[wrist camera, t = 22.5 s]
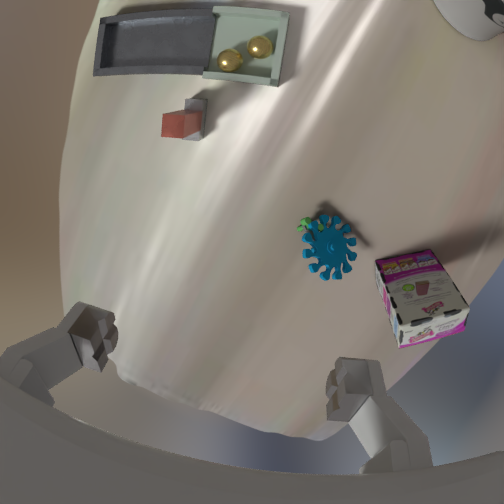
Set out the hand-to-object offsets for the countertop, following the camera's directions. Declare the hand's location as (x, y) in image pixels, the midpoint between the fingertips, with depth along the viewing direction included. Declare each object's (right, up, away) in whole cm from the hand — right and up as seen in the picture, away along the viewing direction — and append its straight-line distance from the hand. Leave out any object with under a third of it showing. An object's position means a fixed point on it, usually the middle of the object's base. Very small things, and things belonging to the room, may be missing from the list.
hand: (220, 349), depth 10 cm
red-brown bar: (-7, +23, +31) cm, 39 cm away
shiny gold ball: (+3, +31, +24) cm, 39 cm away
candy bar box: (+28, +1, +39) cm, 48 cm away
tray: (-1, +32, +25) cm, 40 cm away
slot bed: (-13, +34, +25) cm, 45 cm away
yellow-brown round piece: (-1, +30, +23) cm, 38 cm away
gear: (+13, +6, +38) cm, 41 cm away
